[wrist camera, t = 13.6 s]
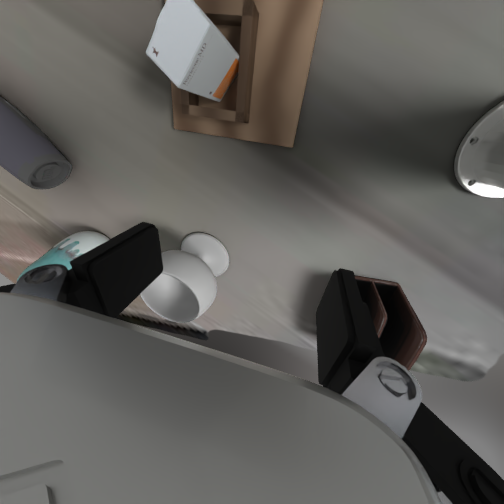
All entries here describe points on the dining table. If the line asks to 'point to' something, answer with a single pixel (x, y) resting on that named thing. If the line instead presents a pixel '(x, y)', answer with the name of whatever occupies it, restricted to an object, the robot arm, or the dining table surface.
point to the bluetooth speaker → (29, 151)
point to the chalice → (187, 279)
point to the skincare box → (193, 50)
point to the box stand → (256, 71)
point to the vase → (69, 249)
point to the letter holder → (393, 320)
